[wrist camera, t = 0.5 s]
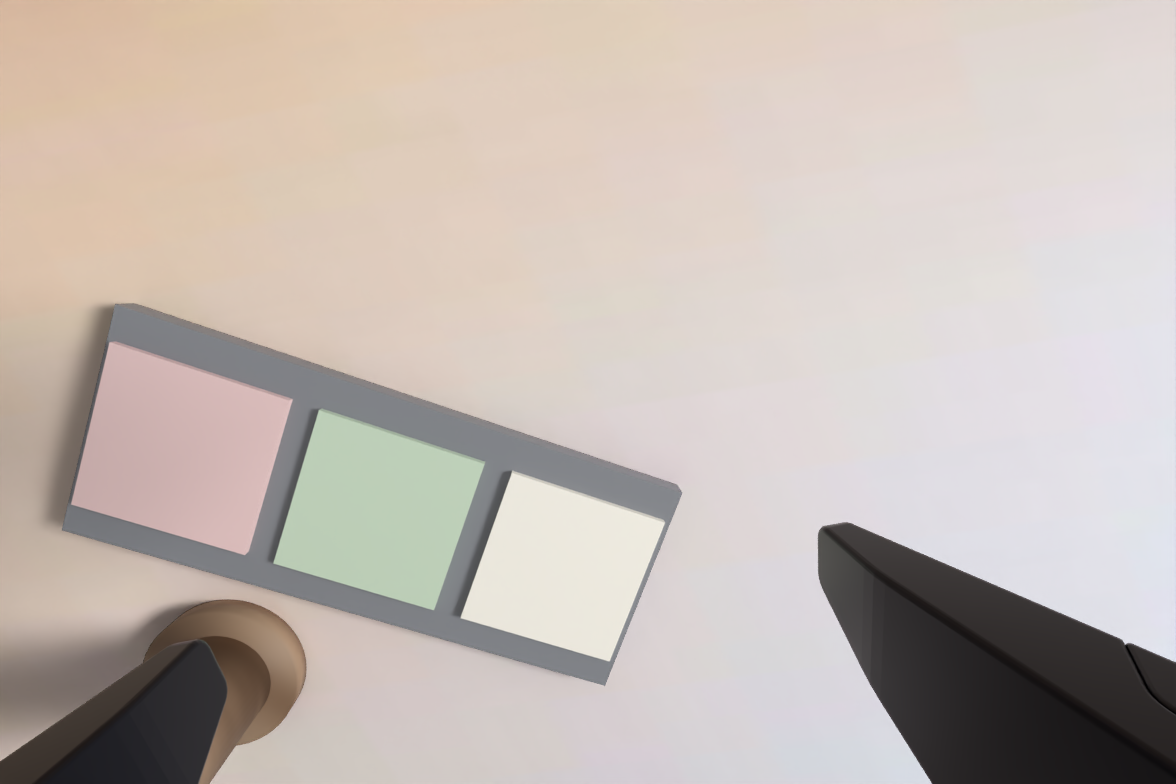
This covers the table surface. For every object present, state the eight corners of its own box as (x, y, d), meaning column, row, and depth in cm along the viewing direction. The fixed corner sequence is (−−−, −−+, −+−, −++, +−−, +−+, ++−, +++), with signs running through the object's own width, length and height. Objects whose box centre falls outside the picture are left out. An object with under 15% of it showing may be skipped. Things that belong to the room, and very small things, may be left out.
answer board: (602, 670, 25) (605, 690, 24) (82, 519, 23) (55, 533, 22) (677, 484, 24) (684, 495, 23) (135, 303, 22) (108, 304, 20)
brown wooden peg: (284, 743, 25) (67, 1114, 14) (143, 707, 24) (-209, 1066, 13) (323, 623, 24) (123, 913, 13) (177, 581, 24) (-167, 850, 12)
